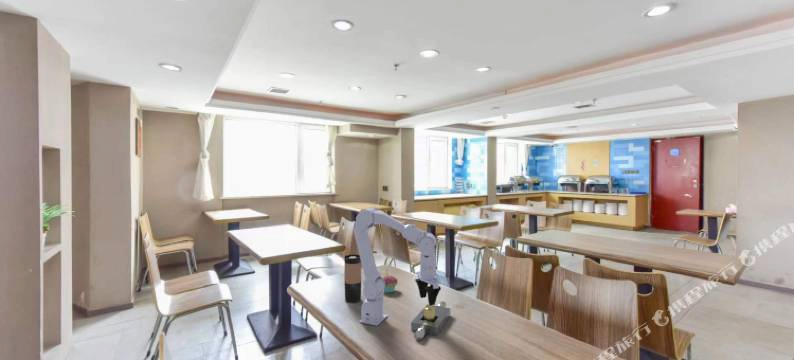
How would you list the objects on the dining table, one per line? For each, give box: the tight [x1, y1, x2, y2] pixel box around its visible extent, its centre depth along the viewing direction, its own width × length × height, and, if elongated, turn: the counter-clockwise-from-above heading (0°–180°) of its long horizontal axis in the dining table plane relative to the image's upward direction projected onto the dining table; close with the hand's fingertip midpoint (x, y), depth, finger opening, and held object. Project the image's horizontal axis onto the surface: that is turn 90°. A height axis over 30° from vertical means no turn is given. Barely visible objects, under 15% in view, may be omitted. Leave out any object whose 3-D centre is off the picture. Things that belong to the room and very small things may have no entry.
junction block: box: [410, 300, 451, 342], centre depth 131 cm, size 30×10×3 cm, turn 156°
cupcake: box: [382, 268, 398, 294], centre depth 165 cm, size 9×8×12 cm
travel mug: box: [343, 253, 362, 304], centre depth 153 cm, size 8×8×20 cm
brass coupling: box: [423, 305, 435, 323], centre depth 128 cm, size 4×4×7 cm
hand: (427, 301), depth 129 cm, fingers open, 7 cm apart
